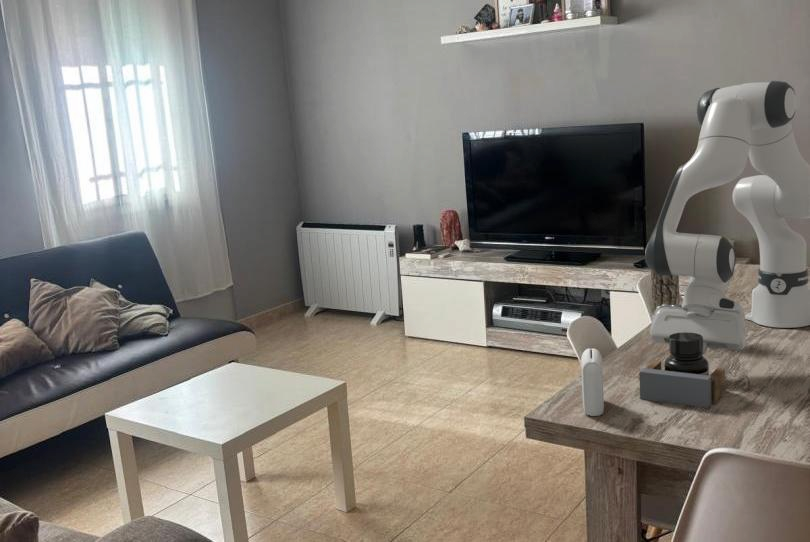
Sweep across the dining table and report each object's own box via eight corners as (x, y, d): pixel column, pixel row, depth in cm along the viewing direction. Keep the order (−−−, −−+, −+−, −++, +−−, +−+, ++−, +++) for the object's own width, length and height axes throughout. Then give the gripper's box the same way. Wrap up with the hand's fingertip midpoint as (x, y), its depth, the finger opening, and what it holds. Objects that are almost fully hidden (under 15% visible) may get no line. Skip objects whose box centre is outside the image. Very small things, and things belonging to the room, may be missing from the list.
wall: (644, 394, 176) (643, 368, 175) (711, 403, 168) (711, 375, 166) (640, 398, 174) (639, 371, 173) (708, 408, 166) (707, 379, 164)
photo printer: (583, 398, 177) (580, 343, 174) (603, 398, 176) (601, 343, 173) (583, 417, 167) (580, 359, 164) (604, 417, 166) (602, 358, 163)
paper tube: (681, 339, 211) (679, 243, 206) (654, 339, 213) (651, 245, 208) (678, 331, 218) (676, 239, 213) (651, 332, 219) (649, 240, 214)
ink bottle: (678, 400, 171) (677, 345, 169) (655, 387, 179) (654, 335, 177) (719, 393, 173) (718, 338, 171) (694, 380, 182) (693, 328, 179)
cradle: (654, 381, 183) (654, 360, 182) (725, 390, 174) (724, 368, 173) (641, 394, 176) (641, 372, 175) (714, 404, 167) (713, 380, 166)
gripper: (653, 297, 189) (640, 350, 183) (747, 303, 177) (736, 361, 171) (660, 310, 193) (647, 363, 188) (752, 317, 181) (741, 374, 176)
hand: (690, 362), depth 179 cm, fingers closed, pressing on ink bottle
